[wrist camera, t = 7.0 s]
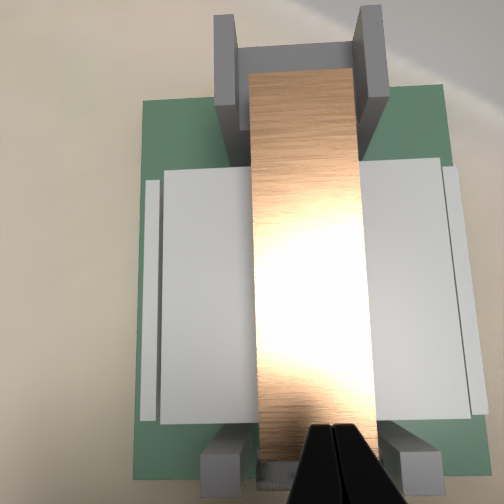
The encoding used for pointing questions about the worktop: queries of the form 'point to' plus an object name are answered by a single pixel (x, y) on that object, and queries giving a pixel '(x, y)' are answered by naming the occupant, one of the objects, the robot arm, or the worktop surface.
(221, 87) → the circuit board module
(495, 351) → the worktop surface
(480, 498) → the worktop surface
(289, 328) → the brown thin bar
